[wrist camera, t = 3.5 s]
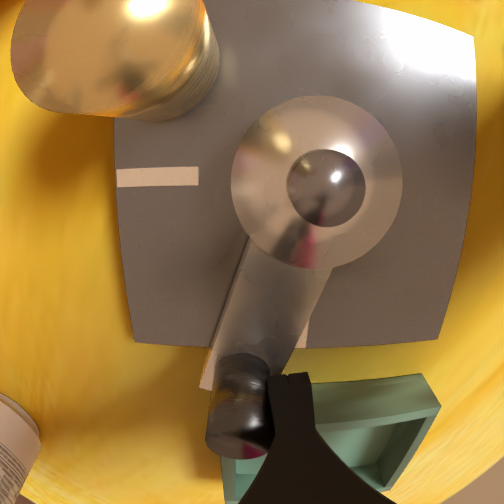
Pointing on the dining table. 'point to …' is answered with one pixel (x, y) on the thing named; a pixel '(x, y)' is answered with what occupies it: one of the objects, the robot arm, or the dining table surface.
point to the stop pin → (115, 56)
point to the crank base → (239, 122)
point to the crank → (292, 248)
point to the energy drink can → (15, 448)
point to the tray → (359, 430)
